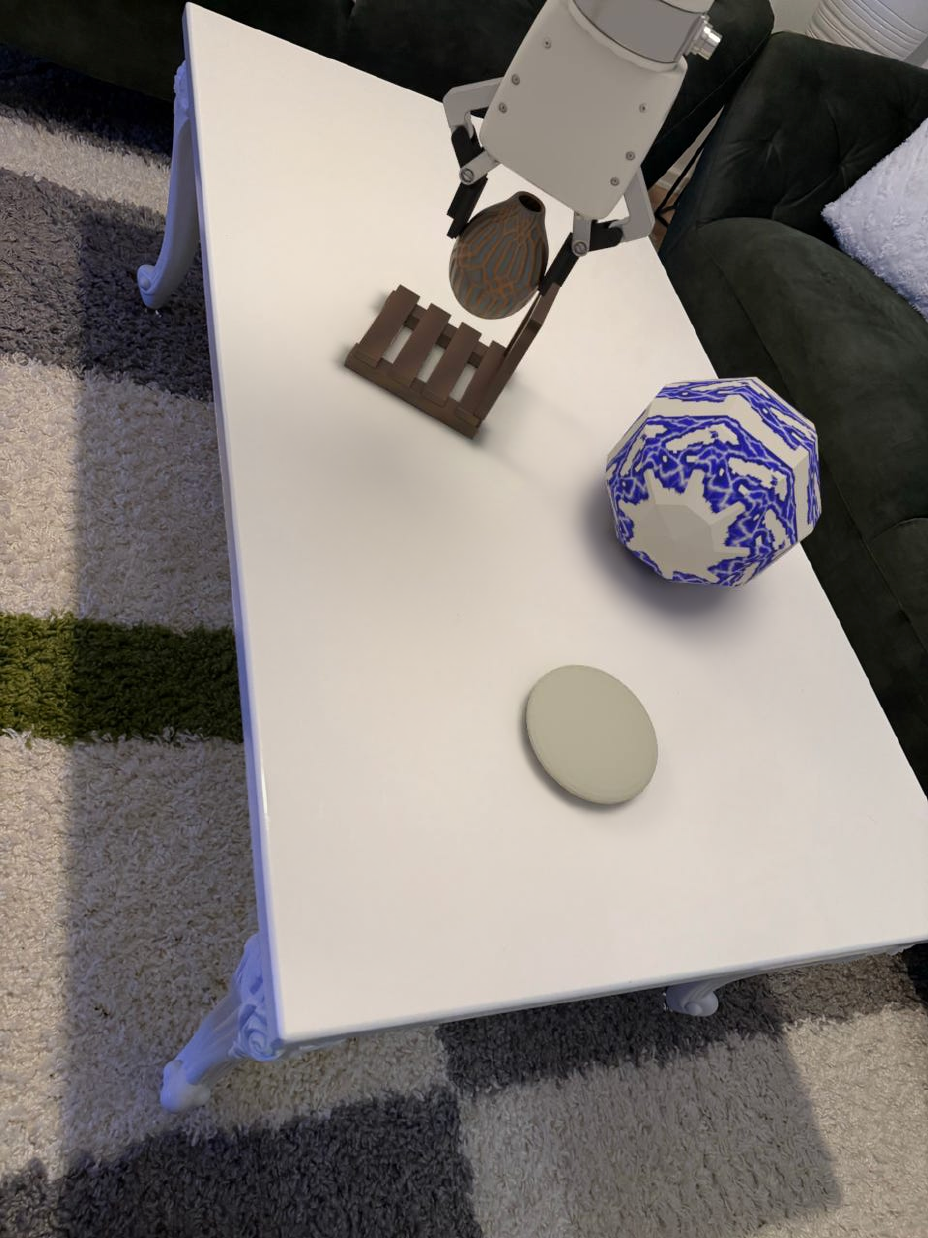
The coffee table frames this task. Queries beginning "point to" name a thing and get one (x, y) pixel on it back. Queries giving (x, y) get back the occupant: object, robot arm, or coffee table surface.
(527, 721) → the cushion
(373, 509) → the coffee table surface
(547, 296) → the rack
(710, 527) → the ornament
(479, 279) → the vase
